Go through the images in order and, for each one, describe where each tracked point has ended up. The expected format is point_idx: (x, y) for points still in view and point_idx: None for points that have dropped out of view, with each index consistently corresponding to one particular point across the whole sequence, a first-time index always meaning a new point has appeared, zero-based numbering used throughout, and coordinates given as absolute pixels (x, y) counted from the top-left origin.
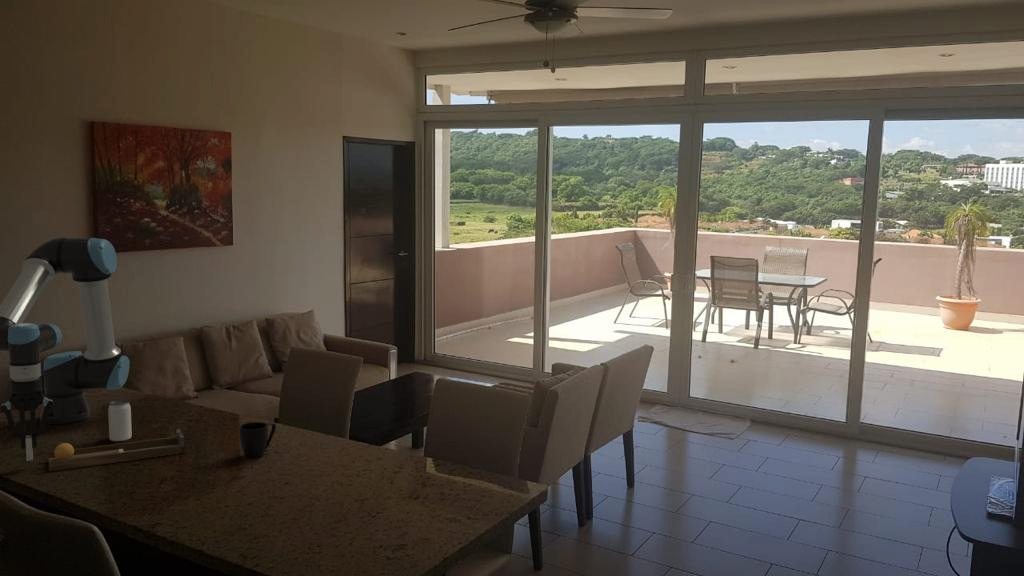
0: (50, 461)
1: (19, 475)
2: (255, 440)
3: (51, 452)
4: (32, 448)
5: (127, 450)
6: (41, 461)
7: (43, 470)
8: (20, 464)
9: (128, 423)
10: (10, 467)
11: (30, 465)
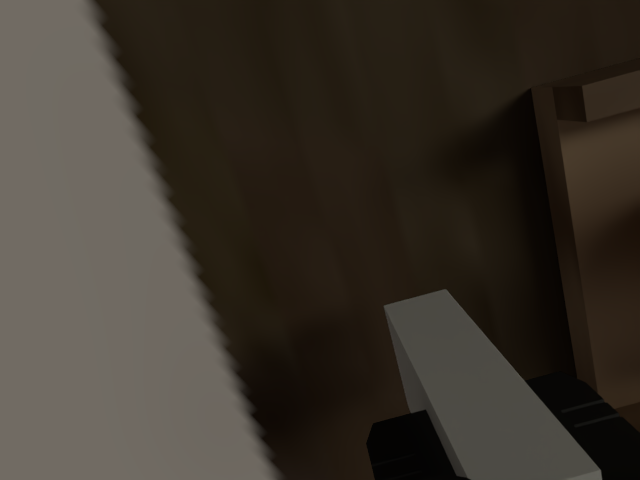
0: (595, 261)
1: (358, 470)
2: None
3: (617, 98)
4: (486, 337)
5: None
6: (456, 86)
7: (530, 375)
8: (265, 150)
9: None
10: (196, 233)
11: (377, 204)
